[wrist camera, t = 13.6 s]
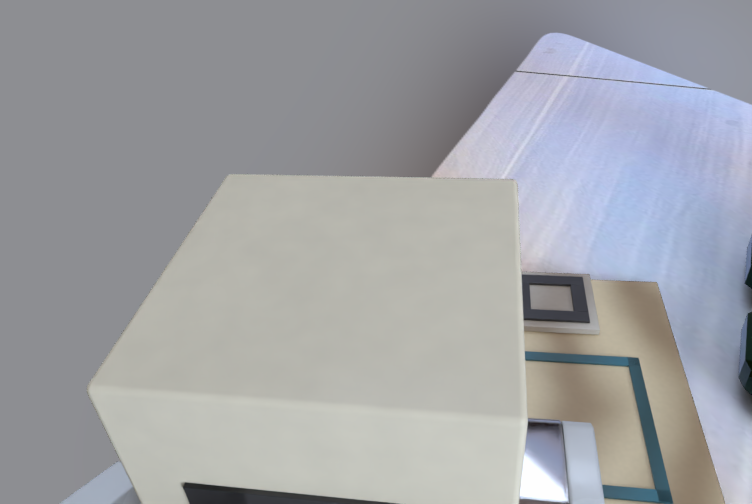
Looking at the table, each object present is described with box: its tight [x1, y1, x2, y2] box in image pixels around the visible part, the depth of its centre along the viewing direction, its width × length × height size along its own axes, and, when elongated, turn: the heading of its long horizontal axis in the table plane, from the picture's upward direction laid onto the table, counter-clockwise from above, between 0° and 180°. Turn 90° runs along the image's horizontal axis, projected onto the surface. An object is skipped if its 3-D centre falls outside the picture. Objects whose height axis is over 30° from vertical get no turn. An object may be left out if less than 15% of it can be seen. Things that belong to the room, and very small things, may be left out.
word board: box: [522, 272, 725, 504], centre depth 32 cm, size 13×23×1 cm, turn 172°
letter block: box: [87, 174, 528, 504], centre depth 12 cm, size 5×5×10 cm
